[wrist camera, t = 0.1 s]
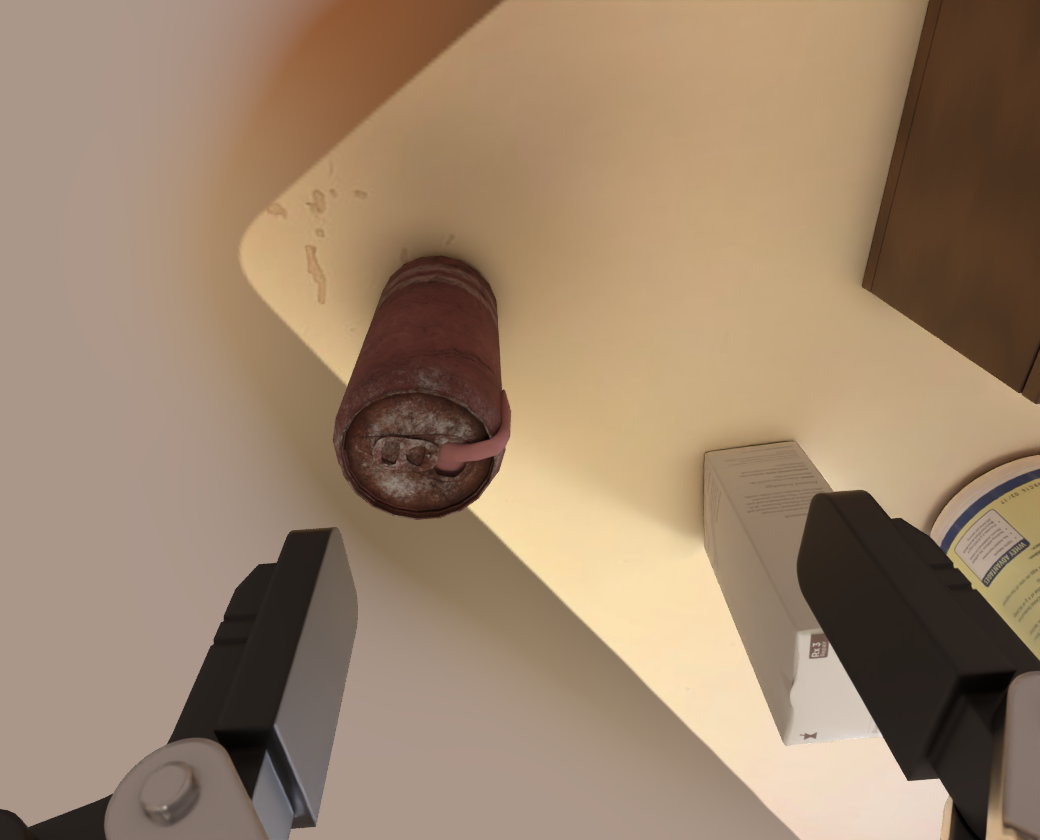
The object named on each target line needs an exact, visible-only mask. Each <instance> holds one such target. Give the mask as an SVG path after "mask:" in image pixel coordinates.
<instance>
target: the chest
mask: <svg viewBox="0 0 1040 840" xmlns="http://www.w3.org/2000/svg"><path fill="white" fill-rule="evenodd" d="M862 287H863V288H865V289H866V290H868V291H869V292H871V293H873V294H874V295H875V296H877V297H878V298H880V299H881V300H883V301H884V302H886V303H887V304H889V305H890V306H892V307H893V308H895V309H896V310H898V311H899V312H900V313H902V314H903V315H905V316H906V317H908V318H909V319H911V320H912V321H914V322H915V323H917V324H918V325H920V326H921V327H922V328H924V329H925V330H927V331H928V332H930V333H931V334H933V335H934V336H936V337H937V338H939V339H940V340H942V341H943V342H944V343H946V344H947V345H949V346H950V347H952V348H953V349H955V350H956V351H958V352H959V353H961V354H962V355H964V356H965V357H967V358H968V359H969V360H971V361H972V362H974V363H975V364H977V365H978V366H980V367H981V368H983V369H984V370H986V371H987V372H989V373H990V374H991V375H993V376H994V377H996V378H997V379H999V380H1000V381H1002V382H1003V383H1005V384H1006V385H1008V386H1009V387H1011V388H1012V389H1014V390H1015V391H1016V392H1018V393H1022V391H1023V389H1024V387H1025V384H1026V382H1027V379H1028V377H1029V374H1030V372H1031V369H1032V367H1033V365H1034V362H1035V360H1036V357H1037V355H1038V352H1039V350H1040V0H930V2H929V6H928V10H927V15H926V19H925V23H924V27H923V31H922V36H921V40H920V44H919V48H918V53H917V57H916V61H915V65H914V69H913V74H912V78H911V82H910V86H909V91H908V95H907V99H906V103H905V107H904V112H903V116H902V120H901V124H900V129H899V133H898V137H897V141H896V145H895V150H894V154H893V158H892V162H891V167H890V171H889V175H888V179H887V183H886V188H885V192H884V196H883V200H882V205H881V209H880V213H879V217H878V221H877V226H876V230H875V234H874V238H873V243H872V247H871V251H870V255H869V259H868V264H867V268H866V272H865V276H864V281H863V285H862Z"/></svg>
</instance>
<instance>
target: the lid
mask: <svg viewBox="0 0 1040 840" xmlns="http://www.w3.org/2000/svg"><path fill="white" fill-rule="evenodd" d="M1022 395H1023V396H1024V397H1026V398H1027V399H1029V400H1030V401H1031V402H1033V403H1035V404H1040V350H1039V352H1038V355H1037V357H1036V360H1035V362H1034V365H1033V367H1032V369H1031V372H1030V374H1029V377H1028V379H1027V382H1026V384H1025V387H1024V389H1023V391H1022Z"/></svg>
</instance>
